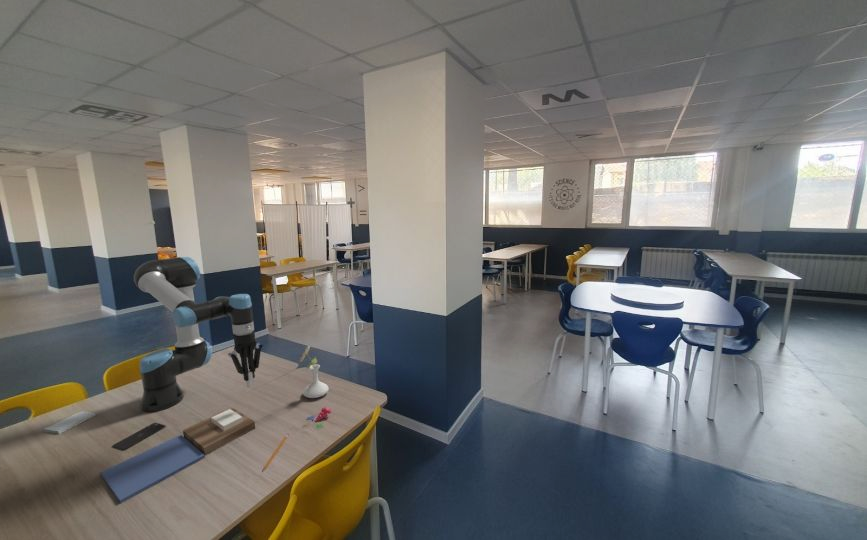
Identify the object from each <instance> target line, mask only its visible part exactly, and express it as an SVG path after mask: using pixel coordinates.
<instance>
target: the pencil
mask: <svg viewBox="0 0 867 540" xmlns="http://www.w3.org/2000/svg"><path fill="white" fill-rule="evenodd" d="M289 435H290V434H289V433H286V434H285V435H284V437H283V439H282V440H281V442H280V443H279V445H278V446H277V448H276V449H275V450H274V452H273V453H272V454H271V456H270V458H269V459H268V460H267V462H266V464H265V465H264V466H263V468H262V473H263V472H264V471H265V470H267V468H268V467H269V465H270V464H271V462H272V461H273V459H274V458H275V456H276V455H277V453H278V452H279V450H280V449H281V447H282V446H283V444H284V443H285V441H286V440H287V439H288V437H289Z"/></svg>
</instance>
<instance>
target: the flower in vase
mask: <svg viewBox="0 0 867 540" xmlns="http://www.w3.org/2000/svg"><path fill="white" fill-rule="evenodd" d="M310 349H311V346H309V345H308V346H307V347H305V350H304V352H303V353H302V356H301V357H300V358H299V362H303V360H304V359H305V358H306V357H308V359H309V360H310V363H309V364H308V365H307V367H306V370H308V369H309V370H310V372H311V375H312V381H311V383H309V384H308V385H307V386H306V387H305V388H304V389H303V392H302V394H303V396H304V397H306V398H308V399H316V398H320V397H324V396H325V395H326V394H327V393H328V392H329V389H330V388H329V386H328V385H327V384H326V383H324V382H322V381H320V380H319V378H318V373H319V369H320V367H321V365H320V364H318V359H317V357H316V356H315V357H314V358H313V359H311V357H310V356H309V354H308V353H309V351H310Z"/></svg>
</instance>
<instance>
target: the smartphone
mask: <svg viewBox="0 0 867 540" xmlns="http://www.w3.org/2000/svg"><path fill="white" fill-rule="evenodd" d="M165 428H167V425H166V424H161V423H158V422H153V423H151V424H149V425H147V426H145V427H144V428H141V429H140V430H138V431H137V432H134V433H132V434H131V435H129V436H127V437H124V438H123V439H121V440H120V441H117V442H116V443H114V444H113V445H111V448H113V449H115V450H116V449H117V450H119V451H124V452H125V451H127V450H129V449H130V448H132V447H134V446H135V445H137V444H139V443H141V442H143V441H144V440H146V439H148V438H150V437H151V436H153V435H155V434H157V433H158V432H161V431H162V430H164V429H165Z"/></svg>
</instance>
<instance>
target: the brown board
mask: <svg viewBox="0 0 867 540" xmlns="http://www.w3.org/2000/svg"><path fill="white" fill-rule="evenodd" d="M229 409H231V410H232V411H234V412H236V413H237V414H239V415H240V416H242V417H243V422H241V423H239V424H237V425H235V426H233V427H231V428H229V429H227V430H225V431H224V430H222V429H221V428H219V427H218V426H217V425H215V424H214V423H213V422H212V419H211V417H214V416H216V415H218V414H220V413H222V412H224V411H227V410H229ZM255 422H256V421H255V420H253V419H251V418H250V417H249V416H246V415H245V414H243V413H241V411H238V410H237V409H235V408H234V407H229V408H227V409H225V410H223V411H221V412H218V413H217V414H215V415H213V416H210V417H208V418H206V419H204V420H201V421H200V422H197V423H196V424H193V425H191V426H189V427H187V428H184V429H183V430H182V434H183V435H182V436H183V437H184V438H185V439H187V440H188V441H189V442H190V443H191V444H192V445H194V446H195V447H196V448H197V449H198V450H199V451H201V452H202V453H203V454H204V455H205V456H207V455H209V454H211V453H212V452H214V451H216V450H218V449H220V448H222V447H224V446H226V445H227V444H229V443H231V442H233V441H235V440H237V439H238V438H240V437H242V436H245V434H248V433H250V432H251V431H253V430H255V429H256V423H255Z"/></svg>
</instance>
